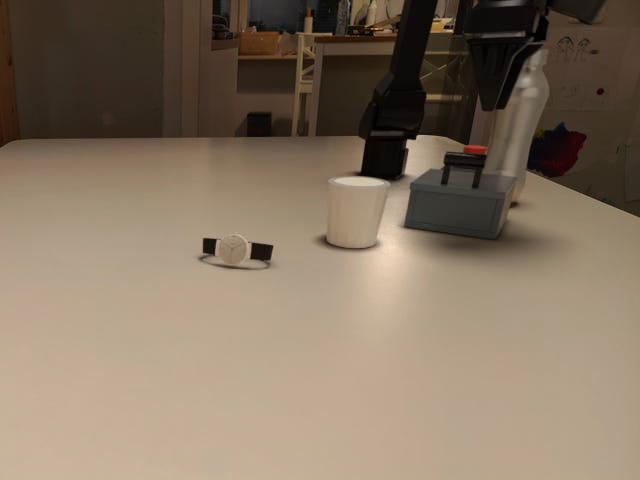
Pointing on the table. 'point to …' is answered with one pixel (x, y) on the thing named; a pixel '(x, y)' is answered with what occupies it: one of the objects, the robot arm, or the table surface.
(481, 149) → the button
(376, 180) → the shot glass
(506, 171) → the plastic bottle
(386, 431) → the table surface
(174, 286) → the table surface
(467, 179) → the box lid
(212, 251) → the watch
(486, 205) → the grey box
